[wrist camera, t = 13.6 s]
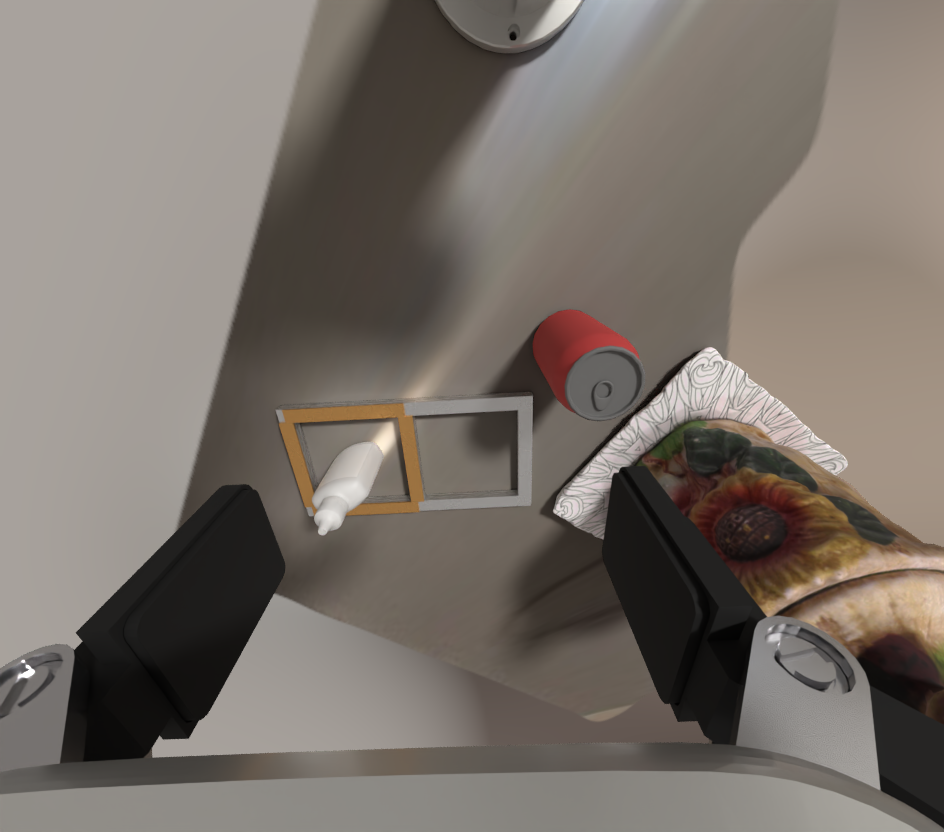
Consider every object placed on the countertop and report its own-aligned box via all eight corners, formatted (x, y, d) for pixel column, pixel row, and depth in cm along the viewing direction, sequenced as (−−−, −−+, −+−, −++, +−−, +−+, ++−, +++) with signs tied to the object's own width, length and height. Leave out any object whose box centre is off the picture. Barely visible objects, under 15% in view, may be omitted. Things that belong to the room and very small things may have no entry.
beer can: (529, 374, 38) (554, 428, 27) (533, 308, 35) (562, 339, 24) (593, 373, 38) (644, 427, 27) (602, 307, 35) (662, 337, 24)
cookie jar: (843, 456, 42) (1641, 916, 14) (680, 581, 51) (954, 1025, 22) (700, 335, 36) (1607, 708, 7) (542, 501, 45) (674, 971, 16)
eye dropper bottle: (333, 438, 41) (284, 509, 30) (384, 441, 41) (353, 513, 30) (336, 471, 43) (291, 549, 32) (385, 473, 43) (357, 552, 32)
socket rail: (280, 405, 39) (274, 410, 38) (531, 391, 39) (533, 396, 37) (312, 509, 45) (308, 517, 44) (529, 499, 45) (531, 506, 43)
